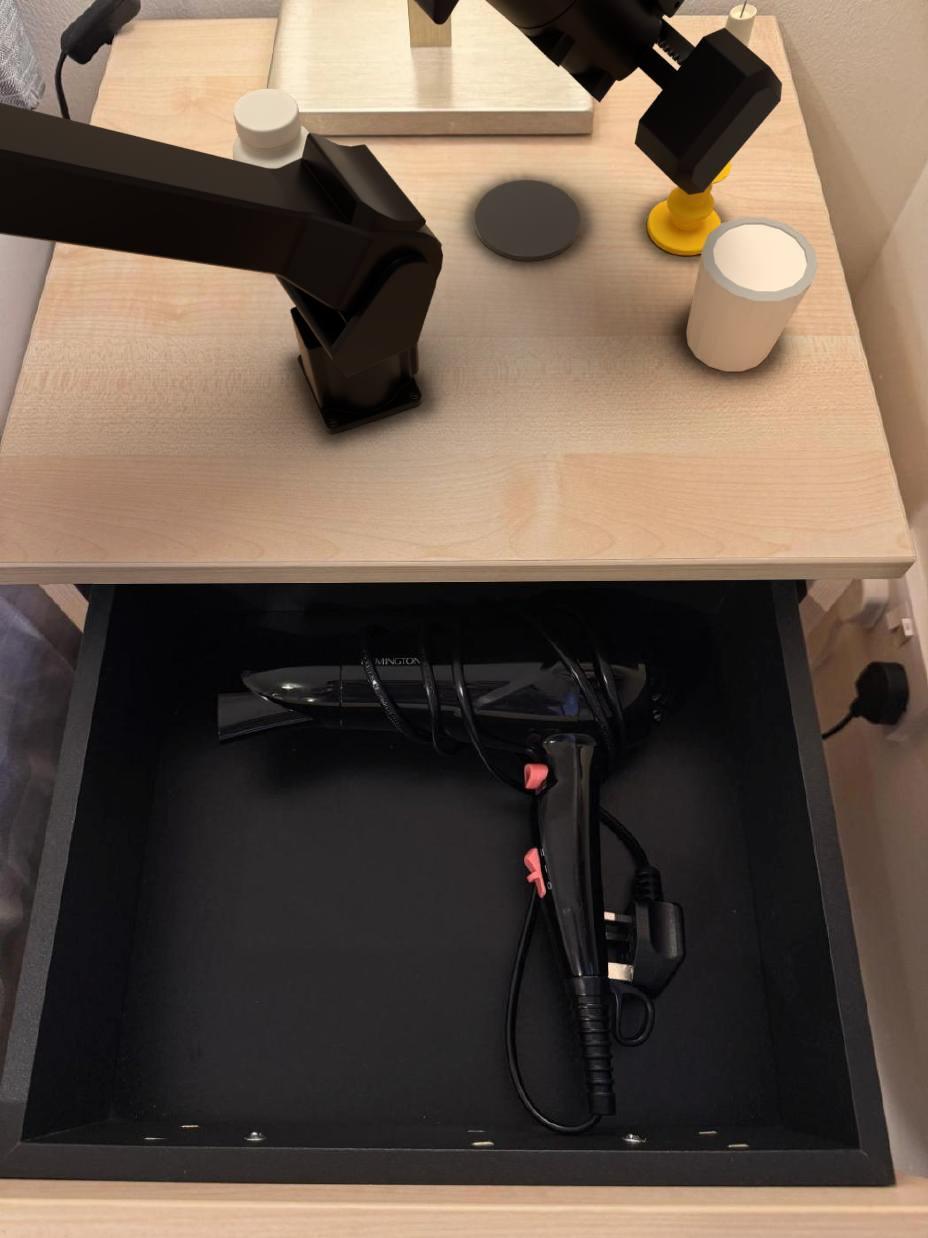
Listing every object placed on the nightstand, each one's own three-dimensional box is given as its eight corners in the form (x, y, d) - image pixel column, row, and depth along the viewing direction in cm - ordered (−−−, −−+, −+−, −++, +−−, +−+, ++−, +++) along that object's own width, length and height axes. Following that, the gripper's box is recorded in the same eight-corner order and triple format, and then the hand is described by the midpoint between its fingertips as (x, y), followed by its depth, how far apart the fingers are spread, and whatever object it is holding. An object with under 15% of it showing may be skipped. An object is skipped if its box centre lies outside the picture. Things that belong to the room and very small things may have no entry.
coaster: (499, 273, 61) (499, 268, 61) (458, 201, 64) (458, 196, 64) (597, 242, 62) (598, 237, 62) (552, 172, 65) (553, 168, 65)
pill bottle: (311, 273, 61) (285, 147, 52) (242, 253, 62) (204, 125, 53) (343, 221, 63) (323, 90, 54) (275, 202, 64) (245, 70, 55)
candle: (637, 243, 62) (688, 16, 48) (659, 195, 64) (713, -38, 50) (708, 264, 61) (781, 39, 47) (728, 214, 63) (804, -17, 49)
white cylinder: (777, 387, 57) (816, 308, 51) (671, 370, 58) (697, 290, 51) (783, 307, 60) (820, 223, 53) (682, 292, 60) (707, 207, 54)
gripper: (825, -129, 33) (910, 61, 45) (546, -329, 39) (687, -115, 52) (620, 140, 38) (746, 243, 51) (406, -75, 45) (563, 63, 57)
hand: (685, 101), depth 52 cm, fingers open, 9 cm apart
